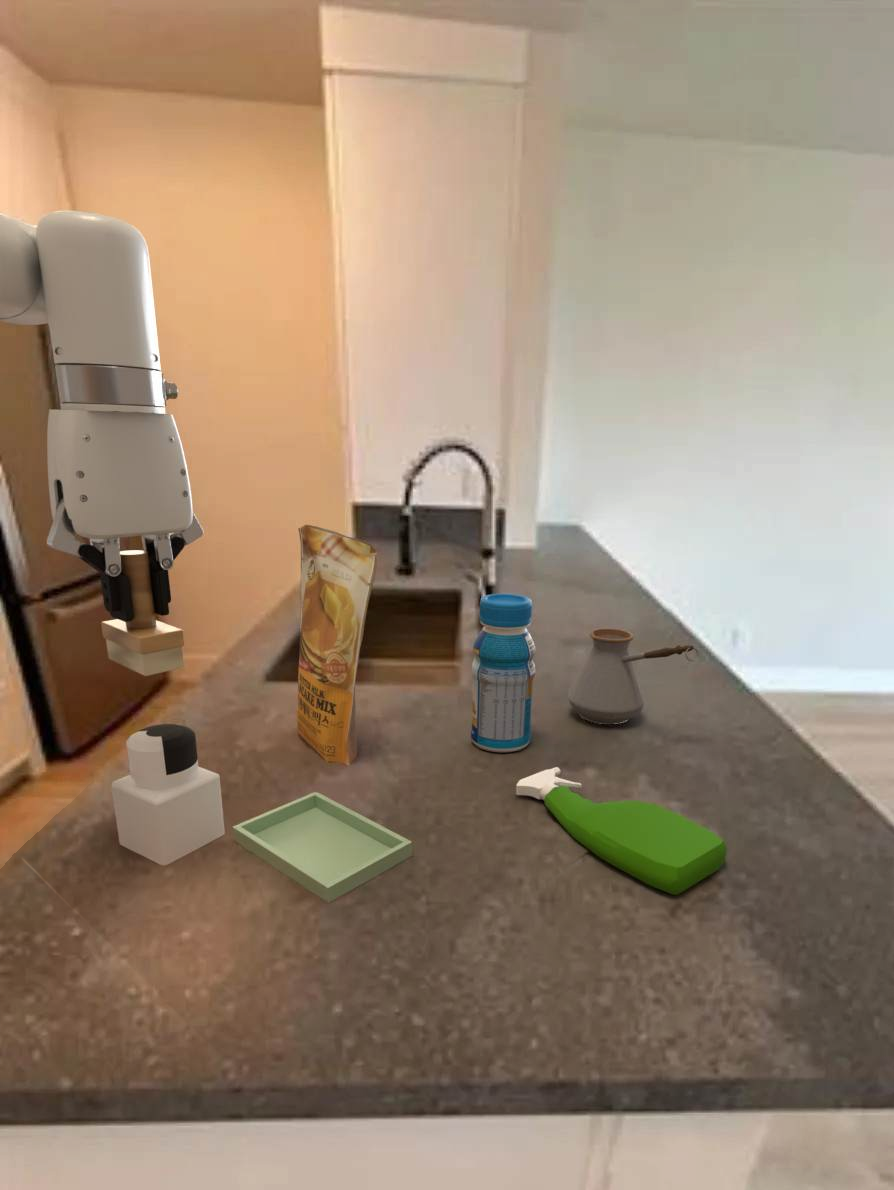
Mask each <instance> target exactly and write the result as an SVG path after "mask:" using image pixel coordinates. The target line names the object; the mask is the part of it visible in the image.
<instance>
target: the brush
mask: <svg viewBox="0 0 894 1190" xmlns="http://www.w3.org/2000/svg"><path fill="white" fill-rule="evenodd" d="M120 558H121V567H122V571H123V574H124V575H127V576H128V577H129V579H130V587H131V595H132V602H133V610H134V619H133V620H132V621H129V622H124V621H121V620H119V619H116V618H114V619H110V620H103V621H101V622H100V625H101V632H102V638H103V639H105V643H106V649H107V657H108V659H109V660H110V661H112V662H114V663H117V664H118V665H121V666H123V667H125V668H127V669H129V670H131V671H133V672H136V673H138V674H140V675H142V676H144V677H149V676H152V675H158V674H161V673H165V672H169V671H170V672H171V671H174V670H179V669H183V668H185V664H184V663H185V662H184V653H183V647H185V640H184V638H185V637H184V630H183V629H181V628H178V627H176V626H173V625H170V624H168V623H165V622H163V621H160V620H157V619H156V613H155V610H154V602H153V593H152V585H151V576H150V568H149V559H148V552H147V551H144V550H142V549H141V550H139V549H137V550H136V549H134V550H133V549H132V550H131V549H130V550H120Z"/></svg>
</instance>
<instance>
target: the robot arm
mask: <svg viewBox="0 0 894 1190" xmlns="http://www.w3.org/2000/svg"><path fill="white" fill-rule="evenodd" d="M0 322H3V323H7V324H12V325H13V324H14V325H21V326H35V325H36V326H37V325H46V324H48V328H49V329H48V330H49V335H50V342H51V348H52V355H53V363H54V370H55V376H56V385H57V391H58V396H59V402H60V403H59V405H60V409H48V410H49V411H48V418H47V432H46V434H47V437H46V446H47V447H46V448H47V449H46V451H47V452H46V454H47V455H46V457H47V479H48V491H49V492H48V493H49V502H50V511H51V517H52V524H51V526H50V530H49V532H48V535H47V538H46V545H47V546H48V547H49V548H50V549H53V550H56V551H59V552H62V553H66V554H69V555H71V556H75V557H77V558H79V559H80V560H82V561H83V562H84V563H85V564H86V565H88V566H90V567H91V568H92V569H93V571H94V572H97V573H99V578H100V585H101V592H102V599H103V605H104V608H105V610H106V612H108V613H109V615H110V616H111V617H112V618H114V619H119V620H121V621H124V622H129V621H132V620H133V619H134V610H133V602H132V595H131V587H130V579H129V577H128V576H127V575H124V574H123V571H122V567H121V558H120V552H121V548H120V547H121V546H120V538H130V537H131V538H132V537H140V538H141V543H142V548H143V549H142V551H147V552H148V559H149V568H150V576H151V585H152V593H153V602H154V610H155V615H159V616H162V617H164V616H168V615H169V614H170V605H169V604H170V603H171V602H172V595H171V594H172V593H171V586H170V585H171V584H170V576H169V571H170V570H171V569H172V568H173V567H174V561H175V560H176V558H177V557H178V556H179V555H180V553H181V552H182V551H183V549H184V548H185V546H189V545H190V544H191V543H193V542H195V541H197V539H199V538H202V536H203V535H204V529H203V528H202V526H201V524H200V522H199V520H198V519H197V517H196V514H195V513H194V509H193V498H192V490H191V482H190V477H189V472H188V465H187V460H186V456H185V452H184V447H183V444H182V440H181V437H180V433H179V430H178V427H177V423H176V421H175V418H174V416H173V414H172V413H166V408H165V407H167V401H168V400H177V398H178V396H179V390H178V386H177V384H176V383H175V382H168V381H167V380H165V376H164V373H163V372H161V371H162V368H161V359H160V350H159V349H160V348H159V340H158V339H159V338H158V330H157V320H156V311H155V300H154V292H153V282H152V271H151V260H150V254H149V247H148V244H147V241H146V239H145V237H144V235H143V234H142V233H141V232H140V230H139V229H138V228H136V227H135V226H134V225H133V224H131V223H129V222H127V221H124V220H122V219H120V218H117V217H113V216H110V215H106V214H101V213H96V212H90V211H83V210H56V211H52V212H48V213H45V214H43V216H41V217H40V219H39V220H38V222H37V225H34V224H30V223H27V222H24V221H22V220H19V219H18V218H16V217H15V218H14V217H12V216H10V215H7V214H4V213H2V212H0ZM74 535H78V536H81V537H82V538H86V539H89V543H86V542H83V541H80V540H77V539H76V538H75V536H74Z"/></svg>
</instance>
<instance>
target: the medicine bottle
mask: <svg viewBox="0 0 894 1190" xmlns="http://www.w3.org/2000/svg"><path fill="white" fill-rule="evenodd" d="M196 738H197V737H196V733H195V731H194V730H193V729H191V728H190V727H188V726H186V725H180V724H175V723H161V724H155V725H150V726H146V727H144V728H142V729H140V730H139V729H138V730H137V731H135V732H133V733H132V734H131V735H130V736H129V738H127V740H126V741H125V745H126V752H127V753H126V754H127V761H128V767H129V768H128V769H129V775H126V776H124V777H120V778H118V779H115V780H113V781H112V782H111V793H112V794H111V795H112V801H113V807H114V815H115V821H116V828H117V833H118V834H117V836H118V842H119V843H118V844H119V845H121V846H122V847H123V848H126V849H128V850H130V851H131V852H134V853H136V854H138V855H140V856H142V857H143V858H146V859H148V860H149V861H152V862H154V863H156V864H158V865H159V866H163V867H164V866H168V865H170V864H172V863H174V862H175V861H178V860H179V859H182V858H183V857H185V856H187V855H188V854H191V853H193V852H194V851H196V850H198V849H200V848H202V847H203V846H205V845H207V844H209V843H212V842H213V841H216V840H217V839H218V838H220V837H222V836H225V834H226V832H225V821H224V820H225V819H224V810H223V809H224V808H223V799H222V788H221V778H220V774H218V773H217V772H214V771H211V770H209V769H206V768H203V767H201V766H199V758H198V757H199V756H198V747H197V739H196Z"/></svg>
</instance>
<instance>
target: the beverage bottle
mask: <svg viewBox="0 0 894 1190" xmlns="http://www.w3.org/2000/svg"><path fill="white" fill-rule="evenodd" d="M532 614H533V602H532V599H530V598H529V597H528V596H525V595H520V594H515V593H492V594H486V595H484V596H482V597H481V598H480V602H479V623H480V624H481V625H482V626H483V627H482V628H481V630H480V632H479V633H478V634H477V636H476V638H475V641H474V643H473V647H472V653H473V654H474V656H475V657H474V659H473V661H472V663H471V669H470V670H471V675H472V719H471V728H470V729H471V730H470V739H471V742H472V744H473V745H475V746H476V747H477V748H480V749H481V750H484V751H487V752H492V753H512V752H513V753H515V752H517V751H520V750H523V749H525V748H526V747H527V746H528V745H529V744H530V742H531V738H532V731H531V722H532V721H531V718H532V703H533V701H532V700H533V687H534V678H535V676H536V665H535V662H534V660H533V659H534V657H535V656H536V655H535V654H536V646H535V642H534V640H533V638H532V636H531V633H530V632H529V630H528V629H527V628H528V627H530V625H531V623H532Z"/></svg>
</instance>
